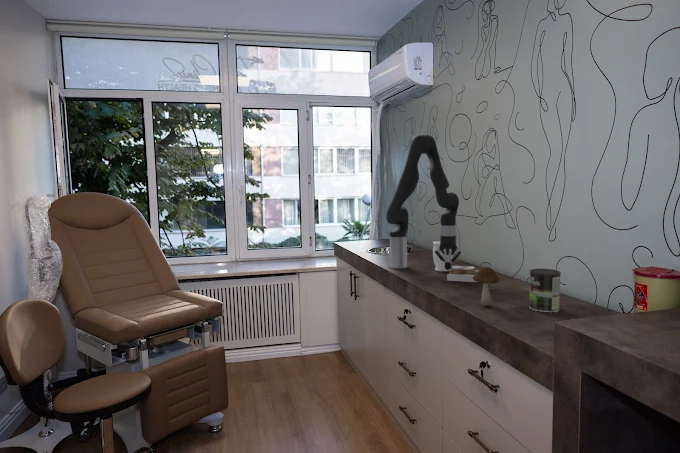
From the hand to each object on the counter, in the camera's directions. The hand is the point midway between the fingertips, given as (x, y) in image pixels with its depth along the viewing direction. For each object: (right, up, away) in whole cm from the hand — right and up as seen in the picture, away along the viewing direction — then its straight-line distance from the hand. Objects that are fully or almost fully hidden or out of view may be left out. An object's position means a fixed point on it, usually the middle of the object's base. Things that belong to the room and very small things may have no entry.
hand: (448, 269), depth 222 cm
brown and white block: (+7, -4, 0) cm, 8 cm away
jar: (+2, -2, +19) cm, 19 cm away
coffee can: (+23, -10, -54) cm, 60 cm away
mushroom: (+3, -9, -49) cm, 49 cm away
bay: (+7, -4, -2) cm, 9 cm away
